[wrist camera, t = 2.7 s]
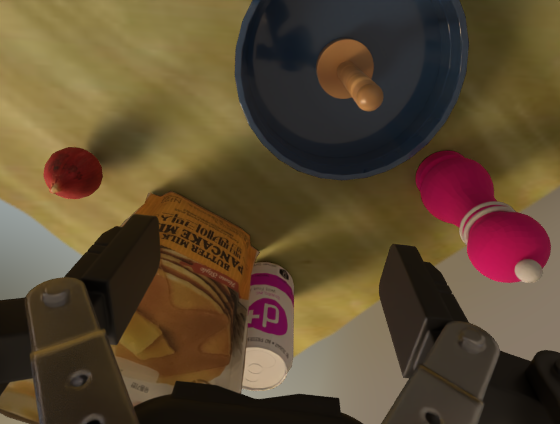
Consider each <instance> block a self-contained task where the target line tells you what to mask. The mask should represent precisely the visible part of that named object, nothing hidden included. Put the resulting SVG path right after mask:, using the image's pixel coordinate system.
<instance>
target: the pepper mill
mask: <svg viewBox="0 0 560 424" xmlns="http://www.w3.org/2000/svg"><path fill="white" fill-rule="evenodd" d="M416 185H417V188H418V189H419V191H420V192H421V199H422V202H423V204H424V206H425V207H426V209H427V210H428V211H429V212H430V213H431V214H432V215H433V216H435V217H436V218H438V219H440V220H442V221H444V222H447V223H451V224H454V225H456V226H458V227H459V228H460V229H459V231H460V237H461V239H462V240H463V242H464V243H465V244H466V246H467V253H468V256H469V259H470V260H471V262H472V264H473V265H474V267H475V268H476V269H477V270H478V271H480V273H481V274H483V275H484V276H486V277H488V278H490V279H492V280H495V281H498V282H507V283H512V282H519V281H523V282H527V283H533V282H536V281H538V280H539V279H540V278H541V277H542V274H543V270H542V269H543V267H544V266H545V265H546V263H547V261H548V258H549V256H550V250H551V245H550V240H549V237H548V235H547V233H546V231H545V229H544V228H543V227H542V226H541V225H540V224H539V223H538V222H537V221H536V220H534V219H533V218H531V217H530V216H528V215H525V214H521V213H518V212H516V211H515V210H513V208H512V207H510V206H509V205H507V204H505V203H502V202H497V201H496V199H495V198H494V187H493V183H492V180H491V177H490V175H489V174H488V172H487V171H486V170H485V169H484V168H483V167H482V166H481V165H480V164H479V163H477V162H476V161H474V160H472V159H468V158H465V157H463V156H462V155H461V154H459V153H457V152H454V151H440V152H436V153H434V154H432V155H430V156H429V157H427V158H426V159H425V160H424V161H423V162H422V163H421V164H420V166H419V168H418V170H417V172H416Z"/></svg>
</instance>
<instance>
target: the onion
mask: <svg viewBox="0 0 560 424" xmlns="http://www.w3.org/2000/svg"><path fill="white" fill-rule="evenodd" d="M102 177H103V174H102V167H101V165H100V163H99V161H98V159H97V158H96V157H95V156H94V155H93V154H92V153H90V152H88V151H86V150H84V149H81V148H74V147H68V148H64V149H62V150H59V151H57V152H55V153H54V154H52V155H51V157H50V158H49V160H48V161H47V163H46V164H45V168H44V179H45V182H46V184H47V186H48V187H49V189H50V192H51V193H53V194H54V193H55V194H56V195H58V196H61V197H64V198H68V199H80V198H83V197H87V196H89V195H91V194H92V193H94V192H95V191H96V190H97V189H98V188H99V186H100V184H101V181H102Z"/></svg>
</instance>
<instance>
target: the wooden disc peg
mask: <svg viewBox="0 0 560 424" xmlns="http://www.w3.org/2000/svg"><path fill="white" fill-rule="evenodd" d="M373 70H374V63H373V58H372V55H371V53H370V51H369V50H368V49H367V47H366V46H365V45H363V44H362V43H360V42H358V41H356V40H354V39H351V38H339V39H336V40H333V41H332V42H330V43H329V44H327V45H326V46H325V47H324V48H323V49H322V51H321V52H320V54H319V56H318V59H317V63H316V73H317V77H318V80H319V83H320V85H321V87H322V88H323V89H324V91H325V92H327V93H328V94H329V95H331V96H333V97H335V98H340V99H347V98H351V97H352V98H353V99H354V101H355V102H356V104H357V105H358V106H359V108H360V109H362V110H364V111H373V110H376V109H377V108H378V107H379V106H380V105H381V104H382V101H383V91H382V89H381V88H380V87H379V86H378V85H377V84H376V83H375V82H373V81H372V80H371V78H372V75H373Z"/></svg>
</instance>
